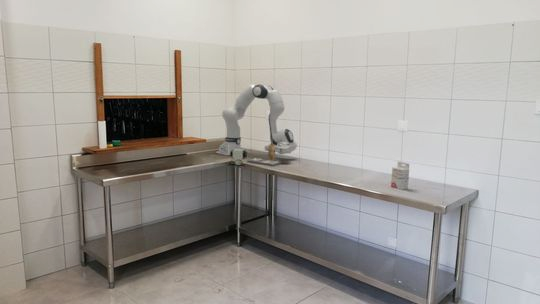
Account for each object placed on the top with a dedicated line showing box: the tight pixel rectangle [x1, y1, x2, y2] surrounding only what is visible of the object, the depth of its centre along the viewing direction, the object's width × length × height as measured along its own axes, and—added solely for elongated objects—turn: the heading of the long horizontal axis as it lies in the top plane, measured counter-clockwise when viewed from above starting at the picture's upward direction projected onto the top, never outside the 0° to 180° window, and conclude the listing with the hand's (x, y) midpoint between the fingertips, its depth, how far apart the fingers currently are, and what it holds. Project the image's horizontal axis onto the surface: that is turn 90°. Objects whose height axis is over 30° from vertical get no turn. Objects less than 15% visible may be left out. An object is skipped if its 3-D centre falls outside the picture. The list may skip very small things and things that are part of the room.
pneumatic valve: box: [229, 148, 248, 166], centre depth 297 cm, size 6×12×12 cm, turn 74°
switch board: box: [246, 157, 284, 167], centre depth 306 cm, size 24×13×2 cm, turn 53°
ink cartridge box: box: [390, 161, 410, 191], centre depth 236 cm, size 9×5×15 cm, turn 35°
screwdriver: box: [267, 138, 276, 161], centre depth 300 cm, size 5×5×16 cm
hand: (271, 150), depth 300 cm, fingers closed on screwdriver, 5 cm apart
